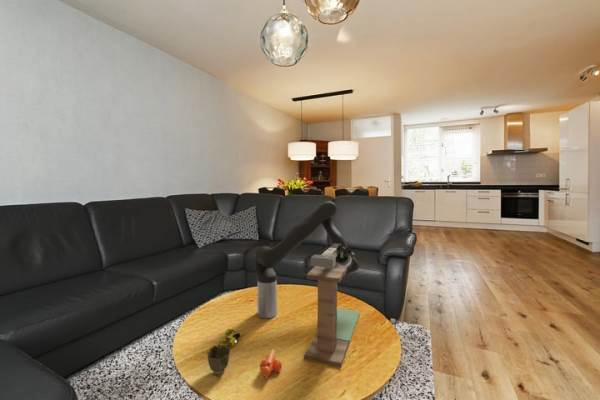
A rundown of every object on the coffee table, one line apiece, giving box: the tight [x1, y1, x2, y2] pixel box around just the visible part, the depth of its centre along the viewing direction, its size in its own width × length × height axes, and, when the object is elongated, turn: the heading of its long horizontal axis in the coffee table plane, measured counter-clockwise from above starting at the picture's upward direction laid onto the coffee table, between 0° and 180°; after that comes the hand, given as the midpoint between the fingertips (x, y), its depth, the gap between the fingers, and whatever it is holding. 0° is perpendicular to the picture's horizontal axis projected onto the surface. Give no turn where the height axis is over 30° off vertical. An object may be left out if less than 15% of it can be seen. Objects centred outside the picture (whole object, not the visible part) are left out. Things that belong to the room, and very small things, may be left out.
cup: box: [206, 344, 231, 376], centre depth 98 cm, size 8×7×8 cm
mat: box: [316, 307, 361, 344], centre depth 131 cm, size 27×14×1 cm, turn 159°
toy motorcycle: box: [218, 328, 243, 347], centre depth 117 cm, size 12×4×7 cm
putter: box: [310, 243, 341, 268], centre depth 111 cm, size 24×8×3 cm, turn 159°
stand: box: [303, 265, 350, 368], centre depth 109 cm, size 14×14×32 cm
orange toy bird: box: [259, 349, 283, 380], centre depth 100 cm, size 5×8×12 cm
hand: (334, 246), depth 118 cm, fingers closed on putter, 3 cm apart
